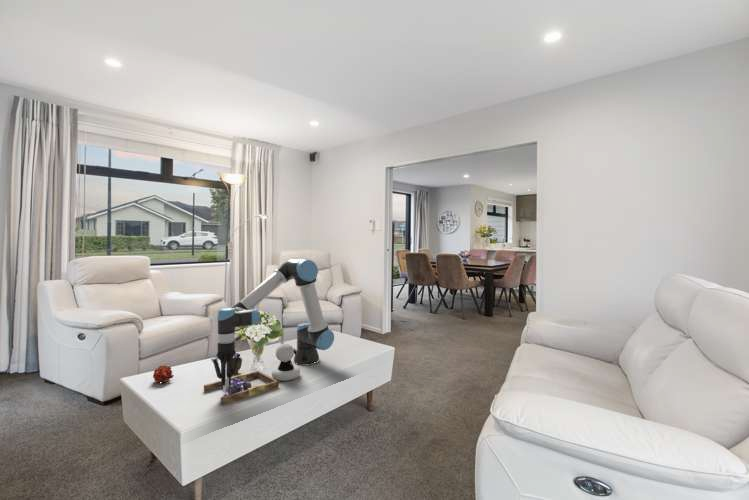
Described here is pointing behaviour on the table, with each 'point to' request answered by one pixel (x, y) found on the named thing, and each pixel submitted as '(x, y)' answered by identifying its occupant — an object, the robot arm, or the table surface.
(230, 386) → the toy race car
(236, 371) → the cup
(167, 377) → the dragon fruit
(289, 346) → the decorative figurine
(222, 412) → the table surface
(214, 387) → the wooden tray
